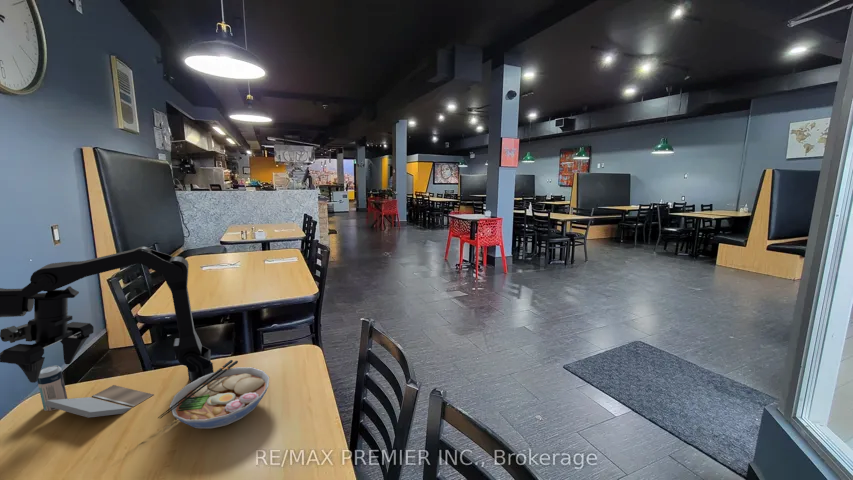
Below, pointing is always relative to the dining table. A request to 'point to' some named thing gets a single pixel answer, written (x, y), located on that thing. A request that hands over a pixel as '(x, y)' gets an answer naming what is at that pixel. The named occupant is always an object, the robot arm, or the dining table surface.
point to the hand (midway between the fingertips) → (51, 372)
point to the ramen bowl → (220, 397)
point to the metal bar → (123, 395)
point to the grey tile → (87, 406)
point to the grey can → (51, 385)
